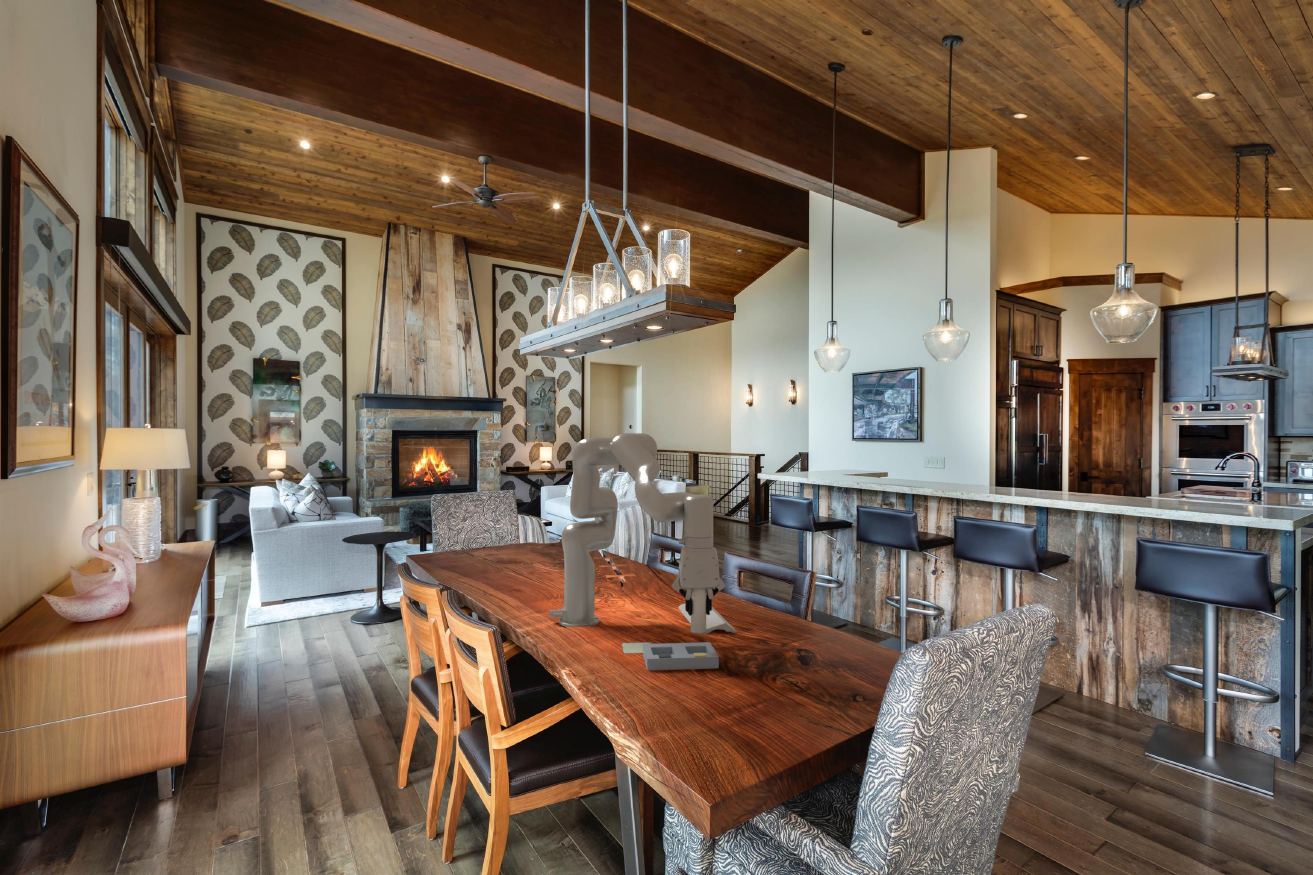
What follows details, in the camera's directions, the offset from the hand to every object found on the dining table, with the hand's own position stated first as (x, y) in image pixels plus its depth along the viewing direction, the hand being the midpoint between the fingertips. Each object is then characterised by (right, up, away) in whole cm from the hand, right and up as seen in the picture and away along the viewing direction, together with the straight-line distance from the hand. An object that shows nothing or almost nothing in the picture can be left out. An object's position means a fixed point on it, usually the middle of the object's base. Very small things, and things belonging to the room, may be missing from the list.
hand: (698, 613), depth 161 cm
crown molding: (+5, -14, +41) cm, 44 cm away
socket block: (-5, -13, 0) cm, 14 cm away
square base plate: (-16, -13, +10) cm, 23 cm away
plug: (0, -5, 0) cm, 5 cm away
